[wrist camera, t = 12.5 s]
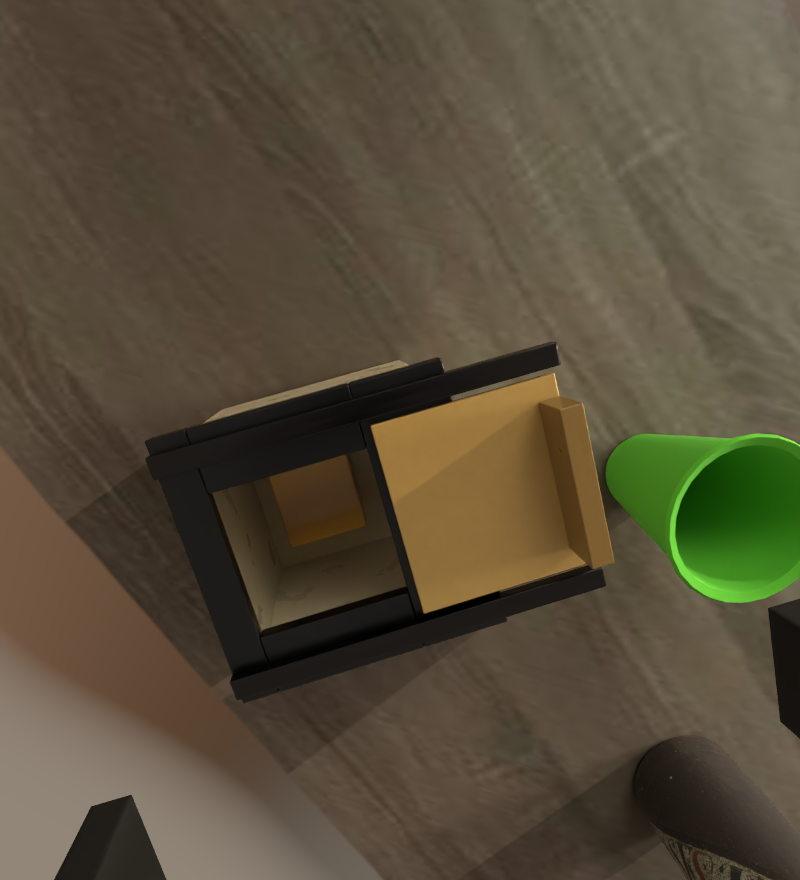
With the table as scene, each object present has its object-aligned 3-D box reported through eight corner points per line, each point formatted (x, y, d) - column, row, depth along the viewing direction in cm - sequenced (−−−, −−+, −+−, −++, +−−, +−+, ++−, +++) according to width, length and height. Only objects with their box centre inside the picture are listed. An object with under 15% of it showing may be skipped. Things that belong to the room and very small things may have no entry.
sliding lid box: (208, 403, 35) (138, 444, 23) (477, 328, 36) (554, 327, 24) (271, 585, 38) (240, 712, 26) (520, 510, 39) (608, 597, 27)
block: (275, 457, 36) (267, 475, 32) (344, 438, 36) (345, 453, 32) (296, 522, 37) (291, 548, 33) (363, 503, 37) (367, 526, 33)
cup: (562, 521, 40) (646, 592, 29) (595, 393, 38) (697, 419, 28) (678, 540, 41) (800, 615, 30) (715, 418, 40) (857, 451, 29)
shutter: (369, 424, 24) (374, 436, 22) (551, 372, 25) (578, 377, 22) (422, 610, 26) (433, 642, 23) (590, 558, 27) (619, 584, 24)
